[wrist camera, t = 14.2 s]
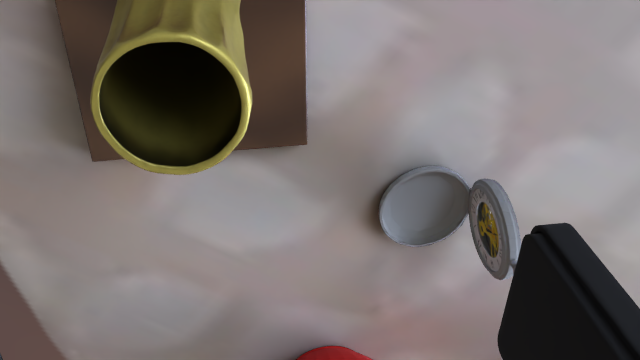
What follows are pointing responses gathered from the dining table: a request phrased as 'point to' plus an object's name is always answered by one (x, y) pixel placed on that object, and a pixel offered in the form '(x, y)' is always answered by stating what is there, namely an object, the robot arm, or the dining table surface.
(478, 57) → the dining table surface
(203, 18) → the vase
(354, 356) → the ceramic cup
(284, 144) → the serving board
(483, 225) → the pocket watch
